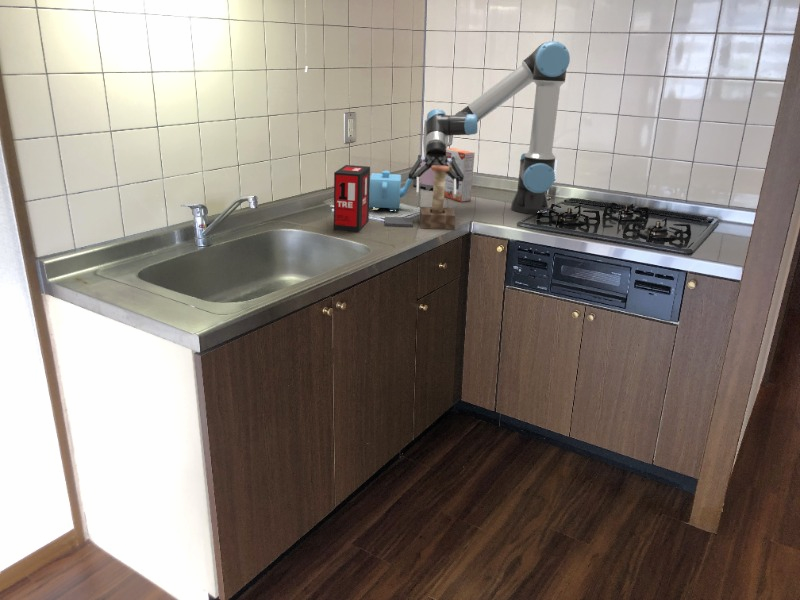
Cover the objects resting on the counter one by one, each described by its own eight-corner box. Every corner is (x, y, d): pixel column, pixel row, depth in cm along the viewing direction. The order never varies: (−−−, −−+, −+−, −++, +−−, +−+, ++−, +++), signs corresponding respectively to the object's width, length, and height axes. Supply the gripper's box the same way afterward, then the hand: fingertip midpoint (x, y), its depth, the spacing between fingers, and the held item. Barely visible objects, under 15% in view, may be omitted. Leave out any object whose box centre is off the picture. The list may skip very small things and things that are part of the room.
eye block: (451, 221, 246) (452, 208, 245) (454, 229, 235) (455, 215, 233) (419, 219, 246) (420, 206, 244) (421, 228, 235) (422, 214, 233)
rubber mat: (411, 220, 245) (411, 217, 245) (412, 227, 236) (412, 224, 235) (384, 219, 244) (385, 216, 244) (385, 225, 235) (385, 223, 235)
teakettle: (383, 216, 249) (384, 177, 244) (351, 206, 262) (352, 169, 256) (417, 209, 262) (419, 173, 256) (385, 201, 274) (387, 165, 269)
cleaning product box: (358, 232, 226) (360, 174, 218) (333, 230, 227) (334, 172, 220) (368, 221, 241) (370, 166, 234) (345, 219, 242) (345, 164, 235)
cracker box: (439, 196, 289) (443, 148, 281) (450, 194, 292) (453, 147, 284) (460, 202, 278) (464, 152, 271) (471, 201, 281) (475, 152, 274)
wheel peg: (444, 222, 244) (448, 165, 236) (445, 227, 238) (450, 168, 230) (427, 222, 243) (430, 164, 236) (428, 226, 238) (432, 167, 230)
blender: (428, 191, 296) (433, 118, 285) (414, 186, 306) (417, 115, 295) (456, 189, 304) (462, 118, 293) (441, 184, 314) (446, 115, 303)
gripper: (467, 154, 249) (468, 202, 240) (402, 151, 248) (401, 199, 239) (470, 142, 242) (471, 191, 233) (403, 139, 241) (402, 187, 233)
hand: (436, 195), depth 236 cm, fingers open, 13 cm apart
